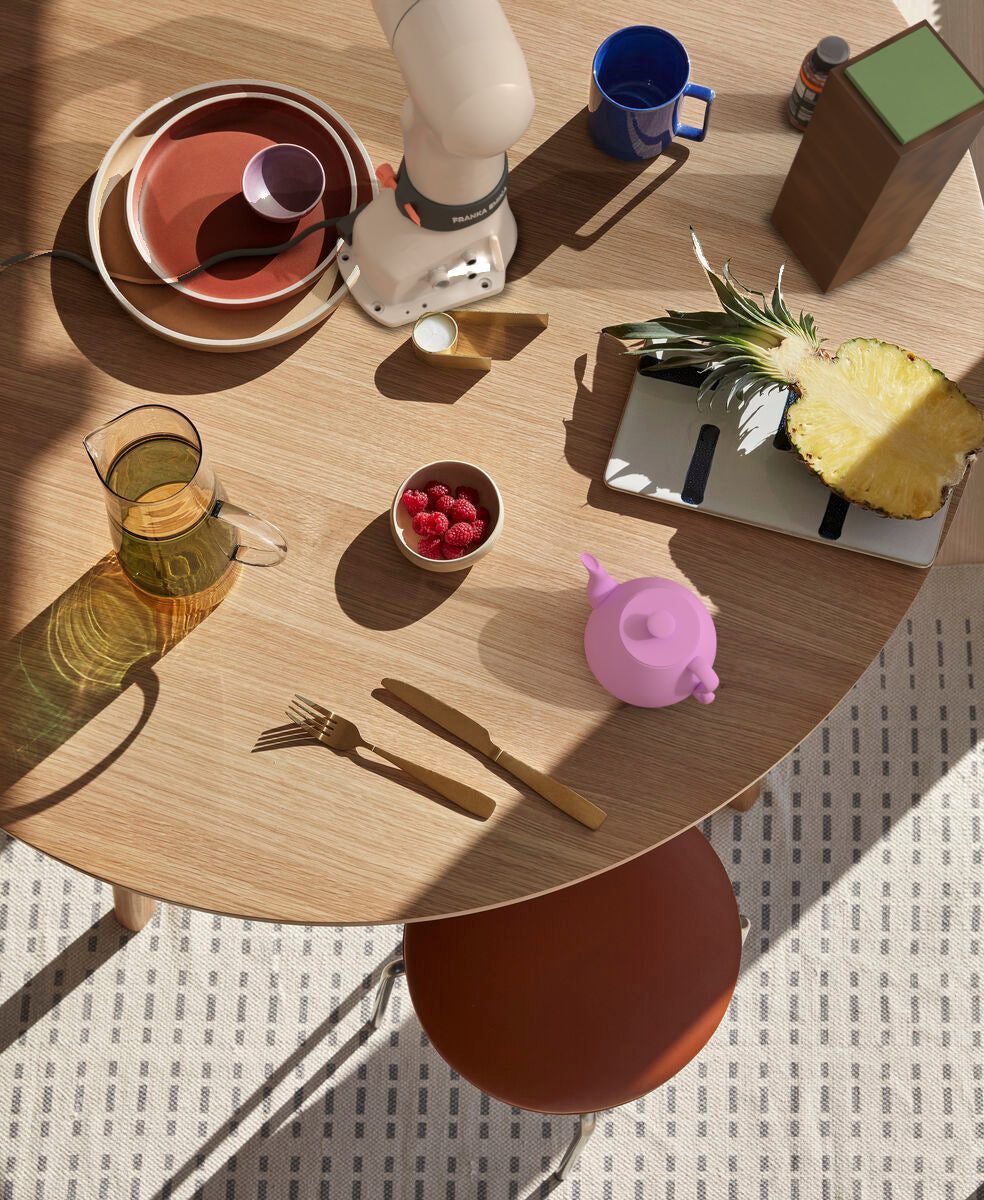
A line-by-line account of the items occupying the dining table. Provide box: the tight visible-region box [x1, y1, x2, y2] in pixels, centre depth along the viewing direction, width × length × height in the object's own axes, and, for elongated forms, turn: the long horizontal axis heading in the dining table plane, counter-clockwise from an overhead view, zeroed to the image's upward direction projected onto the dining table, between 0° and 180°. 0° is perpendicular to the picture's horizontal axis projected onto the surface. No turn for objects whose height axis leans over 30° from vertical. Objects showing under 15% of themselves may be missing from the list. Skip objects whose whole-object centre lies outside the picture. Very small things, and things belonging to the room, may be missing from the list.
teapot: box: [580, 551, 720, 709], centre depth 117 cm, size 20×14×12 cm
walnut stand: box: [768, 18, 984, 295], centre depth 124 cm, size 12×12×26 cm
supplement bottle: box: [786, 35, 851, 132], centre depth 135 cm, size 6×6×11 cm
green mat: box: [844, 26, 984, 145], centre depth 111 cm, size 10×10×1 cm
